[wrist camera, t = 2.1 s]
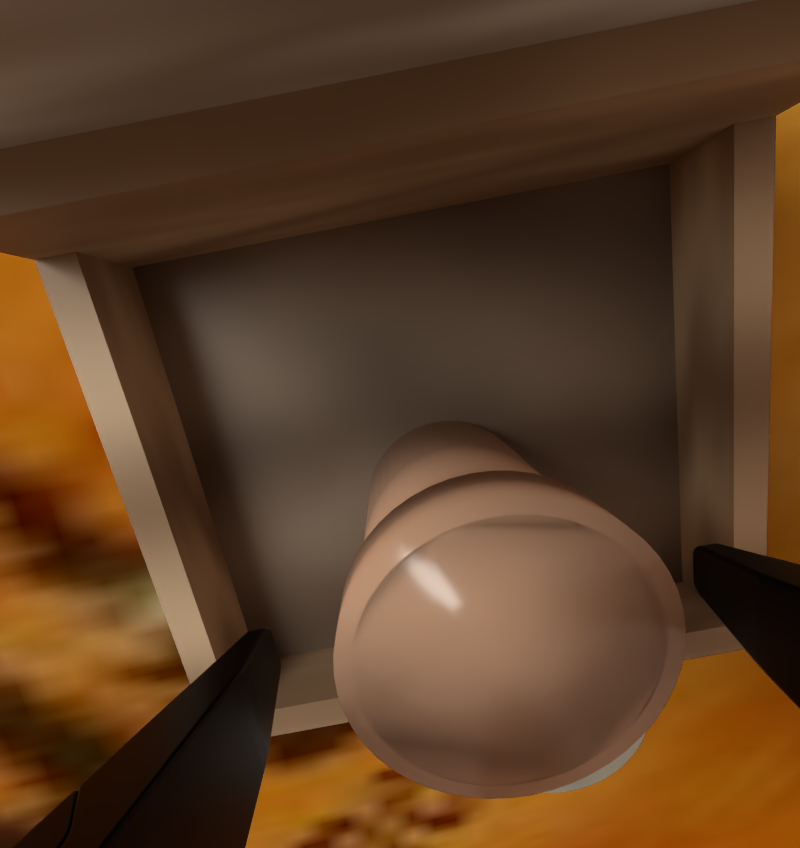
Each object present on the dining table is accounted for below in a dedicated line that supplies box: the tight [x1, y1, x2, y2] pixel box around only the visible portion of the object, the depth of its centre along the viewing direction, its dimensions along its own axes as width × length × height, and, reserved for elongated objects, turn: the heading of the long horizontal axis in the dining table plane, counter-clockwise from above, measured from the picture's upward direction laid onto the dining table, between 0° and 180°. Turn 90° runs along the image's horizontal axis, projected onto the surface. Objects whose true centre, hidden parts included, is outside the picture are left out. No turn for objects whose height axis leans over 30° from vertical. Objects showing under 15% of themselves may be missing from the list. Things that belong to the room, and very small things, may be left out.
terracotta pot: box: [333, 421, 686, 799], centre depth 10 cm, size 6×6×7 cm
